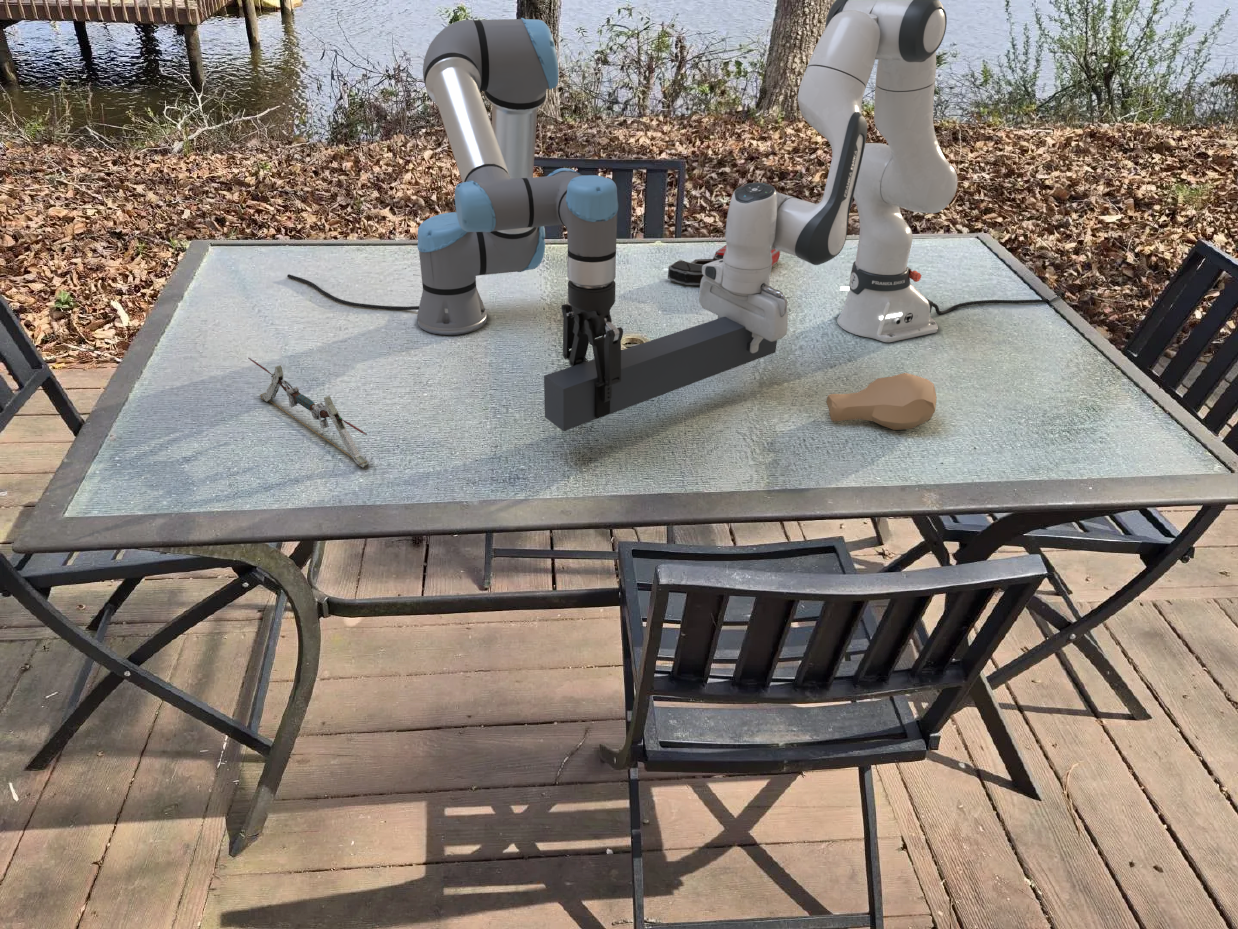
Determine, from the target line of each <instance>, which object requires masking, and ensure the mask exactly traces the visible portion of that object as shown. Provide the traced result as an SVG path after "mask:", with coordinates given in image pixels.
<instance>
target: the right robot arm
mask: <svg viewBox="0 0 1238 929" xmlns="http://www.w3.org/2000/svg"><path fill="white" fill-rule="evenodd" d="M825 18H826V19H825V26H824V28H825V29H824V30H823V32H822V34H821V36H820V37H819V39H818V41H817V43H816V45H815V48H814V49H813V51H812V54H811V56H810V58H809V61H808V64H807V66H806V68H805V71H804V74H803V76H802V79H801V82H800V85H799V89H798V91H797V92H798V93H797V105H798V108H799V111H800V113H801V115H802V117H803V119H804V120H805V121H806V123H807V124H808V125H809V126H810V127H811V128H812V129H814V130H815V131H816V132H817V133H819V135H821V136H822V137H823V138H824V139H826V140H827V142H828V143H829V145H830V148H831V162H830V164H829V165H830V166H829V170H828V174H827V180H826V182H825V187H824V191H823V194H822V198H821V200H820V201H819V202H818V203H815V202H811V201H808V200H804V199H800V198H797V197H795V196H791V195H788V194H784V193H781V192H778V191H777V190H776V188H775V187H774V186H773V185H771V184H769V183H766V182H748V183H744V184H743V185H740V186H739V187H737V188H736V189H734V191H733V193H732V195H731V198H730V202H729V205H728V209H727V215H726V220H725V222H726V223H725V230H724V237H725V243H726V244H725V245H726V251H725V253H724V257H723V259H720V260H716V261H713V262H710V263H707V264H705V265H703V266H702V274H703V275H704V276H703V277H702V279H701V283H700V285H699V293H698V298H699V299H698V300H699V301H698V302H699V304H700V307H701V308H702V309H704V310H705V311H708V312H709V313H712V314H713V315H716V316H717V319H719V318H722V317H727V318H729V319H731V320H733V321H735V322H737V323H739V324H741V325H743V326H745V327H746V330H748V331H750V332H752V337H753V338H754V339H753V340H752V341H751V342H748V343H747V349H746V350H747V351H749V352H751V353H755V352H757V351H758V348H759V343H760V342H761V341H762V339H763V338H764V339H766V340H768V341H771V342H773V341H776V340H777V341H778V340H781V339H784V338H785V336H786V335H787V332H788V323H789V316H788V315H789V314H788V313H789V312H788V302H789V301H788V300H787V298H786V296H785V295H784V292H782V291H781V290H779V289H775V288H774V287H772V286H771V285H770V282H771V275H772V268H773V266H772V256H771V250H774V249H776V250H779V251H780V252H782V253H785V254H788V255H792V256H794V257H797V258H798V259H800V260H802V261H805V262H807V263H809V264H811V265H813V266H819V265H822V264H825V263H827V262H830V261H831V260H833V259H834V258H836V257H837V256H838V255H839V254H840V253H841V252H842V250H843V248H844V246H845V244H846V241H847V236H848V230H849V222H850V220H849V219H850V212H851V208H852V203H853V199H854V202H855V205H856V209H857V214H858V223H859V235H858V243H857V250H856V254H855V255H856V256H855V260H854V261H853V263H852V267H851V271H850V277H849V283H848V284H849V285H848V286H840V289H839V291H847V294H846V299H845V302H844V304H843V306H842V309H841V311H840V313H839V315H838V317H837V319H836V321H837V324H838V326H839V327H840V328H841V329H842V330H844V331H845V332H848V333H850V334H853V335H856V336H859V337H863V338H864V337H865V338H870V339H874V340H877V341H879V342H883V343H893V342H897V341H903V340H907V339H913V338H916V337H917V338H918V337H922V336H926V335H931V334H935V333H937V332H938V330H939V329H938V328H939V327H938V323H937V322H936V320H935V319H934V318H933V317H931V312H932V309H933V308H934V310H935V313H936V314H937V315H946V314H948V313H950V312H953V311H954V310H956V309H958V308H963V307H967V306H975V305H986V304H987V305H988V304H1009V305H1010V304H1017V305H1018V304H1041V303H1048V302H1050V301H1049V300H1048V299H1046V298H1042V299H1043V300H1040V299H1041V298H1039V299H985V300H971V301H966V302H961V303H957V304H954V305H953V306H951V307H949V308H947V309H946V310H940V307H939V305H938V304H937V303H935V302H933V301H932V300H931V299H928V298H927V297H925V295H924V294H922V293H921V292H920V290H918V289H917V287H915V286H914V285H913V284H912V283H911V280H912V281H913V282H914V283H919V282H920V280H922V274H921V273H920V272H918V271H917V270H912V269H911V268H910V267H909V266H908V263H909V258H910V255H911V250H912V244H913V240H914V239H913V237H914V236H913V231H912V229H911V227H910V225H909V224H908V223H907V222H906V220H905V218H904V217H903V215H902V212H901V209H904V210H907V211H910V212H913V213H922V214H923V213H924V214H937V213H940V212H941V211H943V210H944V209H945V208H947V207H948V206H949V205H950V203H951V202H952V201H953V199H954V198H955V195H956V193H957V190H958V184H959V183H958V181H959V180H958V175H957V170H956V169H955V168H954V167H953V165H952V164H951V163H950V162H949V161H948V160H947V158H946V156H945V155H944V152H943V150H942V149H941V147H940V144H939V141H938V138H937V135H936V134H937V133H936V130H935V126H934V101H935V100H934V99H935V87H936V86H935V85H936V77H937V76H936V73H937V50H939V48H940V47H941V45H942V42H943V40H944V37H945V35H946V30H947V24H948V17H947V12H946V9H945V8H944V5H943V3H942V2H941V1H940V0H834V2H833V3H832V5H831V6H830V8H829V10H828V12H827V15H826V17H825ZM876 60H877V65H876V74H875V88H874V89H875V90H874V109H873V123H874V126H875V127H876V130H877V131H878V132H879V134H880V135H881V136H882V137H883V138H884V139H885V141H886V143H887V144H886V143H882V142H881V143H880V142H867V135H868V122H867V119H866V117H864V116H863V113H862V112H863V111H862V103H863V98H864V94H865V91H866V88H867V86H868V84H869V81H870V77H871V75H872V71H873V69H874V66H875V62H876ZM1054 295H1057V296H1058V297H1059V296H1061V297H1066V293H1065V292H1064V291H1063V290H1059V291H1057V292H1056V293H1055V294H1054Z"/></svg>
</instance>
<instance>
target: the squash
mask: <svg viewBox="0 0 1238 929" xmlns="http://www.w3.org/2000/svg"><path fill="white" fill-rule="evenodd" d="M937 398H938V397H937V393H936V387H935V384H934V383H933V382H932V381H930V380H929V379H927V378H925V377H922V376H918V375H916V374H913V373H908V372H903V373H899V374H895V375H891V376H884V377H877V378H876V379H874V380H873V381H871V382H870V383H869V384H868V385H867V386H866V387H865V388H863V389H861V390H859V391H858V392H851V393H850V392H849V393H830V394H828V395H827V397H826V401H825V405H827V409H828V413H829V414H828V415H829V418H830V421H831V422H841V421H842V422H843V421H852V420H854V421H855V420H863V421H869V422H874V423H876V424H878V425H879V426H883V427H885V428H888V429H890V430H893V431H900V430H912V429H914V428H916V427H919V426H921V425H922V424H924V423H927V422H928V421H930V420H931V419H932V418H933V416H934V414H935V412H936V406H937Z"/></svg>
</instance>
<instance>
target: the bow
mask: <svg viewBox="0 0 1238 929" xmlns="http://www.w3.org/2000/svg"><path fill="white" fill-rule="evenodd" d="M247 358H248V359H249V360H250V361H251V362H252V363H253V364H255V365H256V366H257V367H259V368H260V369H262V370H263V371H265V372H266V373H268V374H269V375H271V379H270V380H271V381H270V384H269V385H268V387H267V389H266V392H262V393H260V394H259V397H260V399H261V400H262V401H264V402H269V403H271V404H272V405H274V406H276V407H277V408H278V409H280V410H281V411H283V412H284V413H286V414H287V415H288V416H290V417H291V418H293V419H294V420H296V421H297V422H298V423H300V424H302V425H303V426H305V427H306V428H308V429H309V430H311V431H312V432H313V433H315V434H316V435H318V436H319V437H320V438H323V440H324V441H327V442H328V443H330V444H331V445H332V446H334V447H335V448H337V449H338V450H339V451H341V452H343V453H344V454H345V455H347V456H348V457H350V458H351V459H353V461H354V462H355V463H356V465H357V466H359V467H360V468H365V466H370V463H369V462H368V460H366V459H365V458H364V457H363V456H362V454H361V453H360V451H359V449H358V448H357V445H356V444H355V441H354V440H353V438H352V436H351V435H350V433H349V431H348V430H347V426H346V425H348V426H350V427H351V428H353V429H354V430H356V431H357V432H359V433H361V434H363V435H365V436H368V433H366V432H365V431H363V430H362V429H360V428H359V427H357V426H356V425H354V424H352V423H350V422H349V421H347V420H344V419H343V417H342V416H341V414H340V413H339V411H338V409H337V408H336V406H335V404H334V402H333V400H332V397H331V396H330V395H327V396H324V397H323V402H324V403H323V402H322V401H321V402H318V403H316V404H315V402H314V401H313V400H312V399H311V398H309V397H307V395H304V394H301V392H300V389H299V386H293V385H292V384H290V383H289V381H287V380H285V379H284V372H283V367H282V365H281V364H279V365H276V366H275V367H274V372H273V373H271V372H270V371H269V370H268V369H267V368H265V367H264V366H263V365H262V364H260V363H259V362H257V361H256V360H254V359H252V358H251V357H249V356H248V357H247ZM280 387H281V388H282V389H283V390H284V392H285V393H286V396H287V398H288V406H289V407H290V408H291V409H293V408H294V407H298V405H300V406H301V407H303V408H305V409H306V410H307V411H309V412H311V416H312V418H313V419H314V420H317V421H319V425H320V428H321V429H322V430H324V429H326V428H329V427H330V426H329V422H328V420H327V418H330V420H331V421H332V423H333V425H334V427H335V429H336V431H337V432H338V435H339V437H340V439H341V441H342V443H343V444H344V445H345V447H346V448H345V449H347V452H346V451H345V450H344V449H342V448H340V447H339V446H338V445H336V444H335V443H333V442H332V441H330V440H328V439H327V438H326V437H324V436H323V435H321V434H320V433H319V432H317V431H316V430H314V429H312V428H311V427H310V426H308V425H307V424H305V423H304V422H302V421H301V420H299V419H297V417H295V416H293V414H291V413H289V412H288V411H286V410H285V409H283V408H282V407H281V406H279V405H278V404H276V403H274V402H273V401H272V400H274V399H275V398H276V396H277V394H278V392H279V390H280ZM344 423H345V424H346V425H345V424H344Z"/></svg>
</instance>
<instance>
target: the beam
mask: <svg viewBox="0 0 1238 929" xmlns="http://www.w3.org/2000/svg"><path fill="white" fill-rule="evenodd" d="M753 339H754V338H753V337H752V332H750V331H748V330H746V327H745V326H743V325H741V324H739V323H737V322H735V321H733V320H731V319H729V318H727V317H722V318H719V319H718V318H715V319H713V320H711V321H707V322H703V323H701V324H698V325H694V326H691V327H689V328H685V329H682V330H679V331H675V332H673V333H670V334H667V335H664V336H662V337H657V338H655V339H652V340H649V341H645V342H642V343H639V344H637V345H633V346H630V347H627V348H624V349H621V382H619V383H617V384H614V385H612V398H611V400H610V414H608V415H612V414H614V413H617V412H619V411H622V410H625V409H628V408H630V407H633V406H636V405H639V404H642V403H645V402H646V401H649V400H653V399H654V398H657V397H659V396H662V395H665V394H668V393H671V392H673V391H676V390H679V389H681V388H684V387H686V386H690V385H692V384H695V383H697V382H701V381H703V380H706V379H709V378H710V377H711V378H712V377H714V376H716V375H719V374H721V373H722V374H723V373H725V372H727V371H730V370H732V369H735V368H739V367H741V366H744V365H746V364H748V363H751V362H754V361H756V360H760V359H762V358H764V357H767V356H770V355H772V354H776V351H777V343H778V340H776V341H773V342H771V341H768V340H766V339H764V338H763V339H762V341H761V342H760V343H759V348H758V351H757V352H755V353H751V352H749V351H747V350H746V349H747V343H748V342H751V341H752V340H753ZM596 382H598V377H597V371H596V365H595V359H594V358H593V359H591V360H588V361H587V362H584V363H581V364H578V365H575V366H572V367H571V366H569V367H566V368H563V369H560V370H556V371H554V372H551V373H548V374H544V375H543V395H544V396H543V398H544V401H543V402H544V418H545V419H546V420H548V421H549V422H550V423H552V424H553V425H554V426H556V427H557V428H558V429H560V430H561V431H563V432H566V431H569V430H571V429H574V428H576V427H580V426H582V425H585V424H587V423H590V422H592V421H596V420H598V419H597V418H595V383H596ZM608 415H607V416H608ZM603 417H605V416H603ZM603 417H600V418H599V419H601V418H603Z"/></svg>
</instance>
